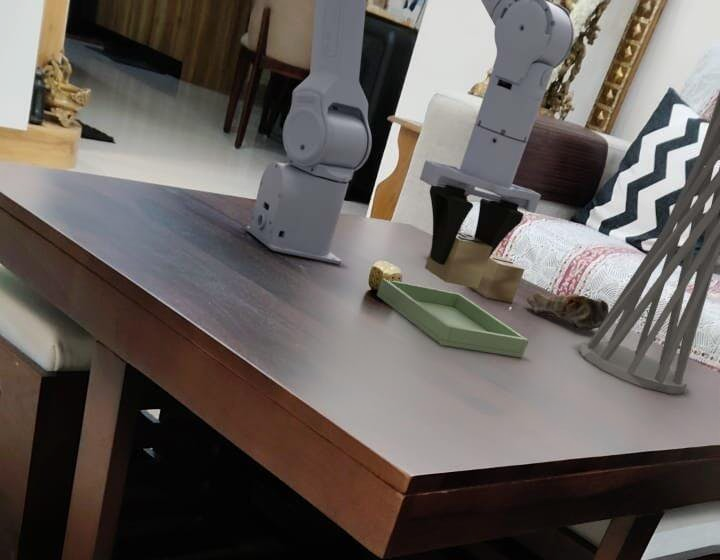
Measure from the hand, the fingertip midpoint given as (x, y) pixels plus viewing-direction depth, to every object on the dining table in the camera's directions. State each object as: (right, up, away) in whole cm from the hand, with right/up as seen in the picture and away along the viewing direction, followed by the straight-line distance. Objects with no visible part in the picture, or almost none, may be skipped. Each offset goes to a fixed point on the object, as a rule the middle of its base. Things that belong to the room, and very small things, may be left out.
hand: (454, 265), depth 109 cm
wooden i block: (+7, +5, +24) cm, 25 cm away
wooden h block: (0, -1, +1) cm, 1 cm away
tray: (-1, -6, +1) cm, 6 cm away
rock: (+17, +1, +24) cm, 29 cm away
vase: (+22, -8, +12) cm, 27 cm away
